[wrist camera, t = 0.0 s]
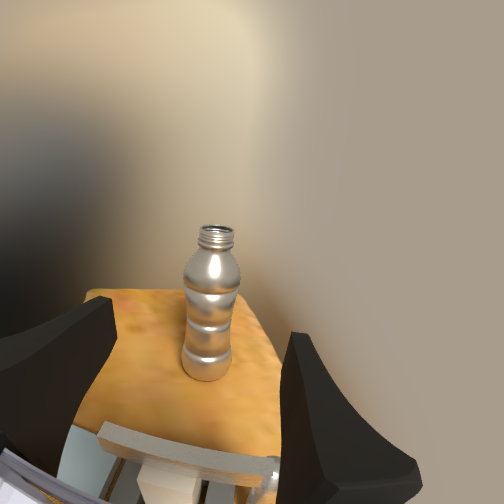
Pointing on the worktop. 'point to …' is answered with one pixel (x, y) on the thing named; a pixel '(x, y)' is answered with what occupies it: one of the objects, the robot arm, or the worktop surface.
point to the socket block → (131, 500)
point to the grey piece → (195, 461)
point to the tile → (87, 463)
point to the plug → (167, 487)
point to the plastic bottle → (210, 304)
